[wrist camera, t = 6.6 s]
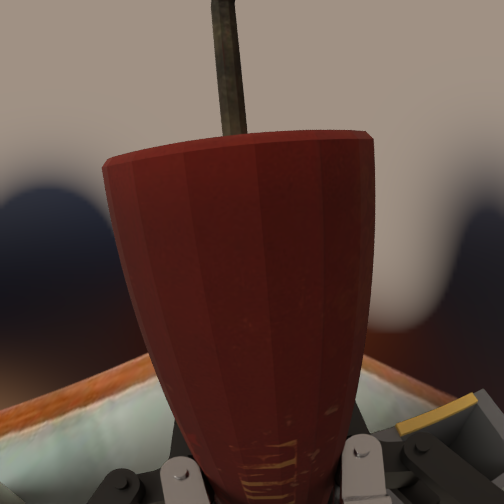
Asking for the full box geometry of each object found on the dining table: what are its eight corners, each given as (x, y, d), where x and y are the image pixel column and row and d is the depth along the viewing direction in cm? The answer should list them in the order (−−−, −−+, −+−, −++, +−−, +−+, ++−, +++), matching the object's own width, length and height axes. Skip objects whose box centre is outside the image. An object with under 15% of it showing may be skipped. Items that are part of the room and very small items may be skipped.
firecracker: (249, 566, 11) (76, -112, 1) (242, 515, 16) (130, -16, 5) (320, 554, 12) (358, -126, 1) (306, 504, 16) (295, -30, 6)
